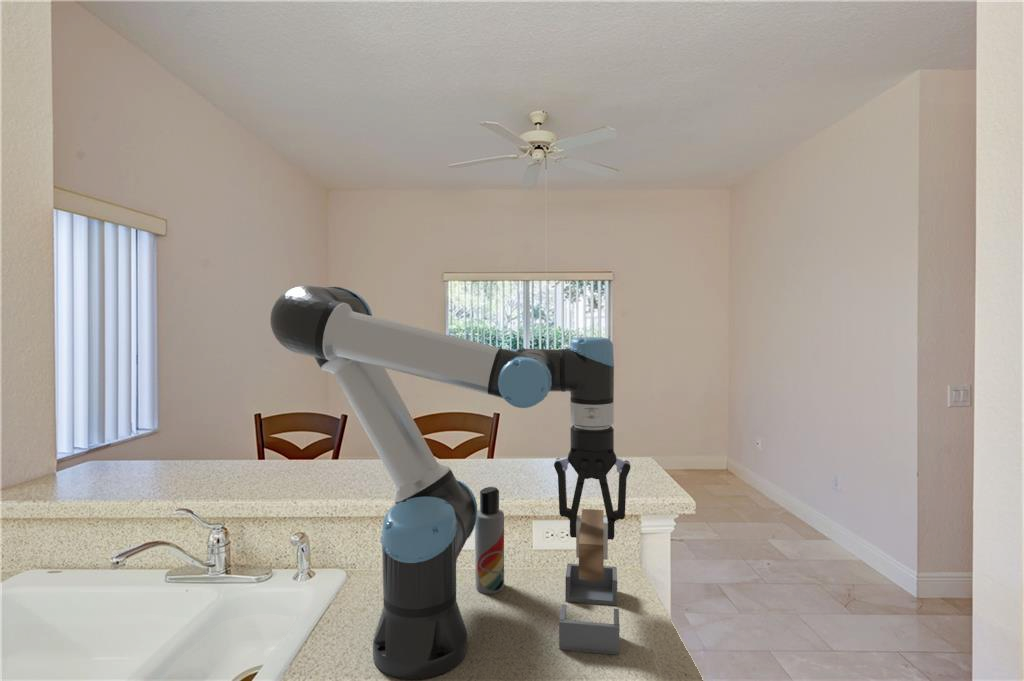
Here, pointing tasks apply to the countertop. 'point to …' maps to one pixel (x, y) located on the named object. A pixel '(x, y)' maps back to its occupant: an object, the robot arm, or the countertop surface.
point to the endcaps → (590, 633)
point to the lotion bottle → (489, 543)
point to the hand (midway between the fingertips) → (592, 555)
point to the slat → (591, 545)
